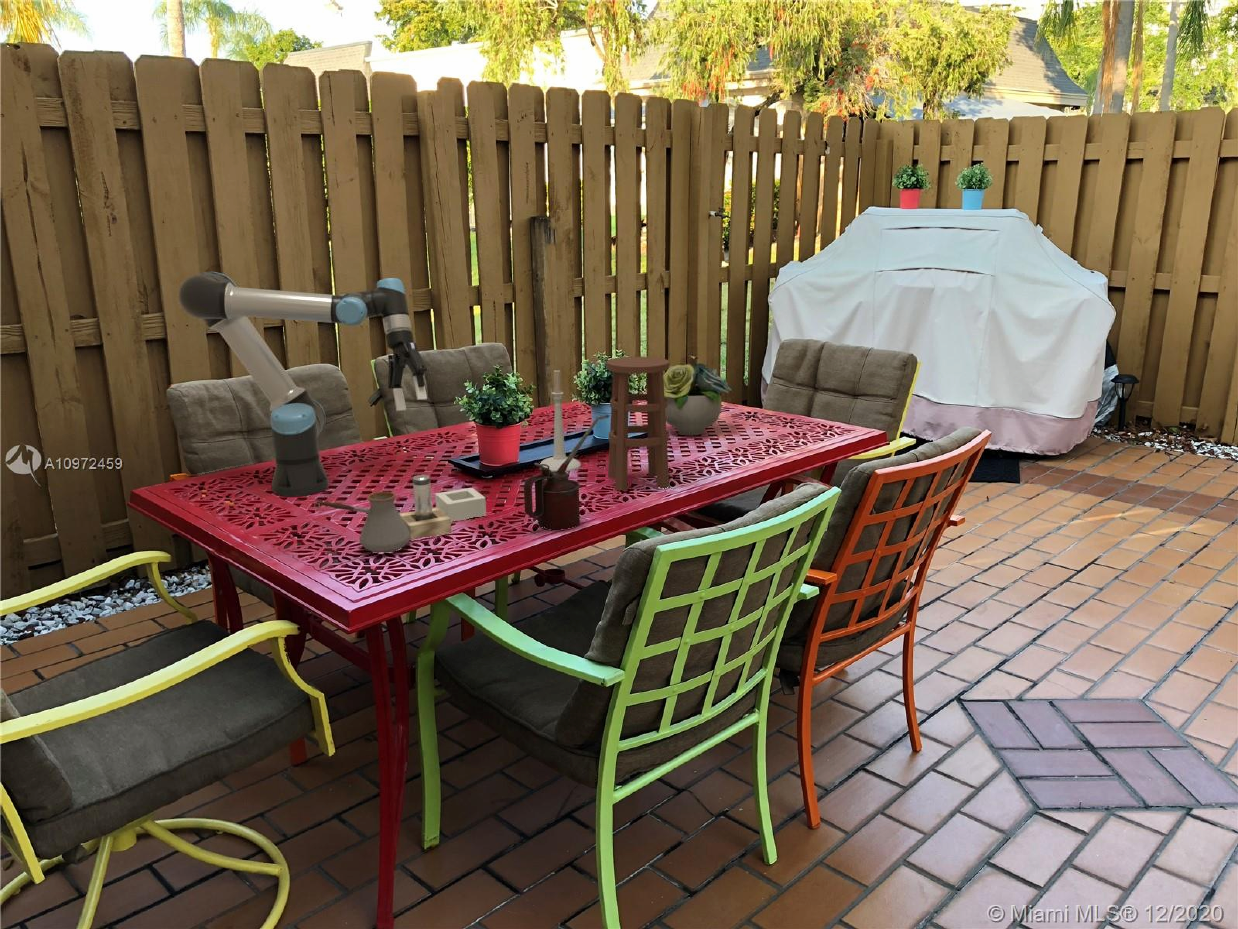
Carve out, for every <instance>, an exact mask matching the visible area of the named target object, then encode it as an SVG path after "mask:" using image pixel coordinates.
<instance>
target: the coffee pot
mask: <svg viewBox="0 0 1238 929" xmlns="http://www.w3.org/2000/svg"><path fill="white" fill-rule="evenodd" d="M396 497H397V495H396V493H394V492H392V491H391V492H390V491H380V492H379V491H378V492H373V493H370V494H369V495H368V496H367V497H366V499H367V501H369V503H370V507H369V508H362V507H356V506H351V505H348V504H343V503H340V502H339V503H338V502H329V501H328V500H327V501H323V500H318V501H316V502H314V505H313V508H314V510H315V511H318V510H319V509H320V506H325V507H326V508H327V507H329V508H332V509H333V508H334V509H338V510H344V511H345V510H346V511H354V512H361V513H366V514H367V516H366V519H365V522H364V525H363V527H362V530H361V533H360V536H359V542H360V545H361V546H362V547H363V548H364V549H366V550H367V551H369V550H370V551H373V552H391V551H396V550H398V549H400V548H402V547H403V548H404V547H405V546H406V545H407V543H408V542H410V540H409V539H410V532H409V530H408V528H407V526H406V525H405V523H404V521H403V519H402V517H401V516H400V514H401V513H399V511H398V510H399V509H397V507H396V506H395V504H394V503H395V498H396ZM316 505H318V507H317V509H316ZM403 548H402V549H403ZM370 551H369V552H370Z"/></svg>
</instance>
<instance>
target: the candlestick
mask: <svg viewBox="0 0 1238 929" xmlns="http://www.w3.org/2000/svg"><path fill="white" fill-rule="evenodd" d="M561 380H562V378H561V370H558V369H556V370H553V389H554V390H553V392H551V395H553V396H552V397H553V400H554V420H553V421H554V425H553V426H554V427H553V429H554V430H553V431H554V432H553V456H551V457H547V458H544V459H543V460H542V461H540V462H541V463H540V462H539V463H540V464H546V465H548V466H549V469H550V470H551V471H552V472H553V471H557V470H558V469H559V467H560V466H561V465H562V463H564V462H565V460H566V459H567V458H568V456H567V455H566V448H565V447H566V446H565V435H564V422H563V411H562V403H561V402H562V399H563V394H564V392H563V391H562V388H561V387H562V386H561V384H562V381H561ZM581 465H582V464H581V462H580V461H579V460H578V459H576V458H574V457H573V459H572V460H571V462H570V463H569V465H568V467H567V469H566V471H565V472H567V473H568V472H572V470H573V471H576V470H579V468H581V467H582V466H581ZM543 466H544V465H543ZM580 466H581V467H580ZM544 467H546V468H548V467H547V466H544ZM575 469H576V470H575ZM539 470H541V468H539Z"/></svg>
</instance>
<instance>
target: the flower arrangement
mask: <svg viewBox="0 0 1238 929" xmlns="http://www.w3.org/2000/svg"><path fill="white" fill-rule="evenodd" d="M717 371H718V370H717V369H716V368H713V369H712V370H711V369H710V368H708V367H707V364H704V363H695V362H689V363H687V364H684V365H682V364H677V365H675V366H674V365H671V366H669V369H668V370H666V372H665V373H663V378H664V396H665V398H666V399H667V408H665V415H666V424H667V423H668V425H669V426H671V427H674V428H675V429H676V430H677V432H678V433H679V434H680V435H682V436H699V435H702V434H703V432H704V430H705V429H706V428H708V427H710V426H712V425H714V424H715V423H716V422H717V421H718V419H719V417H720V414H721V412H722V403H723V402H722V401H723V400H722V393H728V394H729V392H731V391H733V389H731V387H730V386H728V382H727V381H725V380H724V379H723V378H722V377H720V376H719V375H718V374H717Z"/></svg>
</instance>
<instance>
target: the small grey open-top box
mask: <svg viewBox="0 0 1238 929" xmlns="http://www.w3.org/2000/svg"><path fill="white" fill-rule="evenodd" d="M434 496H435V497H434V498H435V508H436V507H438V508H439V509H440V510H441V511H442V512H443V513H445V514H446V515H447V516H448V517H449V518H450V519H451V522H452V521H457V520H464V521H467V520H466V519H469V518H473V517H481V516H486V517H487V504H486V502H487V501H486V500H487V499H486V497H485V496H484V495H482V494H481V493H480V492H478V491H477V490H475V488H473V487H468V488H462V489H455V490H448V491H444V492H443V491H442V492H438V493H436V492H435V493H434ZM481 518H482V517H481ZM469 520H470V519H469Z"/></svg>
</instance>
